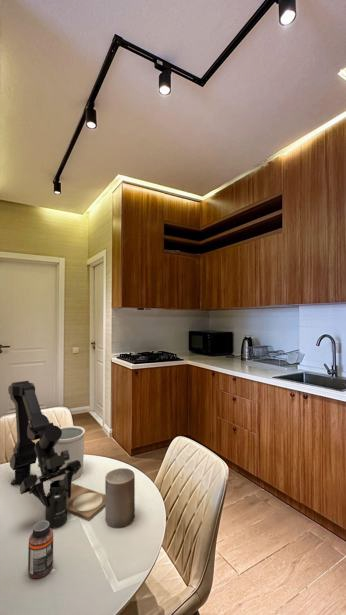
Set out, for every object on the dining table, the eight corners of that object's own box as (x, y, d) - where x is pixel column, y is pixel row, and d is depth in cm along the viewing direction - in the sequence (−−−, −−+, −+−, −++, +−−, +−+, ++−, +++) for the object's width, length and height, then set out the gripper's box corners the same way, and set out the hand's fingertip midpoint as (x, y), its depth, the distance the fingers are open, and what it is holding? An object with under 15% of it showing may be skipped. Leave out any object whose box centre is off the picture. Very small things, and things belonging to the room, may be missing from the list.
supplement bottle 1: (33, 560, 78) (34, 517, 79) (55, 559, 79) (56, 516, 79) (23, 580, 72) (24, 533, 73) (48, 579, 73) (49, 532, 73)
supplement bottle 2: (59, 531, 89) (60, 491, 90) (40, 527, 91) (41, 488, 91) (72, 516, 96) (72, 479, 97) (53, 513, 98) (54, 476, 98)
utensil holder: (89, 477, 120) (89, 433, 121) (50, 488, 112) (52, 442, 113) (78, 462, 132) (79, 423, 133) (43, 471, 124) (44, 430, 125)
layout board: (45, 503, 103) (45, 499, 103) (71, 486, 113) (71, 482, 114) (88, 521, 94) (88, 516, 94) (112, 500, 105) (112, 496, 105)
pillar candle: (139, 511, 99) (139, 466, 100) (127, 531, 89) (127, 481, 90) (113, 506, 101) (113, 462, 102) (99, 525, 92) (99, 476, 93)
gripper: (23, 452, 91) (35, 505, 82) (79, 436, 104) (94, 480, 95) (15, 469, 96) (25, 520, 88) (69, 451, 109) (82, 494, 101)
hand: (58, 502), depth 93 cm, fingers closed on supplement bottle 2, 7 cm apart
